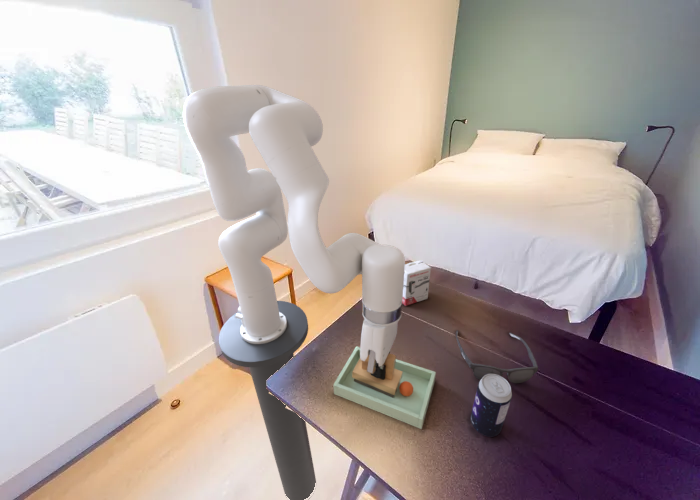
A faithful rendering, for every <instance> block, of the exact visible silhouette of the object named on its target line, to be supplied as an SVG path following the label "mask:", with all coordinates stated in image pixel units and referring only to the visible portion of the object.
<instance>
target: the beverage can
mask: <svg viewBox="0 0 700 500" xmlns="http://www.w3.org/2000/svg"><path fill="white" fill-rule="evenodd" d="M508 381H509V380H507V379H506V378H505V377H503V376H499V375H496V374H487V375H485V376H484V377H483V378H482V379H481V380H479V381H478V384H477V388H476V393H475V397H474V400H473V405H472V409H471V413H470V424H471V426H472V427H473V428H474V429H475V430H476V432H478V433H479V434H480V435H482V436H485V437H489V438H493V437H496V436H498V435H500V434H501V432H502V428H503V426H504V423H505V420H506V416H507V414H508V411H509V408H510V404H511V401H512V398H513V391H512V387H511V384H510V383H509V382H508Z"/></svg>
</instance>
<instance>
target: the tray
mask: <svg viewBox="0 0 700 500" xmlns="http://www.w3.org/2000/svg"><path fill="white" fill-rule="evenodd" d="M359 359H360V346H357V345H356V346H355V348H353V351H352V352H351V354H350V356H349V358H348V359H347V361H346V363H345V364H344V366H343V368H342V370H341V371H340V373H339V375H338V376H337V377H336V379H335V381H334V383H333V395H336V396H338V397H341V398H343V399H345V400H347V401H350V402H353V403H355V404H358V405H360V406H363V407H365V408H367V409H370V410H373V411H375V412H377V413H380V414H383V415H385V416H388V417H390V418H393V419H394V420H398V421H400V422H402V423H405V424H408V425H410V426H412V427H415V428H417V429H420V430H422V429H423V426H424V423H425V419H426V414H427V411H428V407H429V403H430V401H431V396H432V393H433V389H434V386H435V382H436V376H437V375H436V374H437V372H436V371H434V370H431V369H429V368H425V367H422V366H418V365H416V364H412V363H409V362H406V361H404V360H400V359H397V358H396V362H395V369H397V370H400V371H402V372H403V373H402V378H401V381H400V383H399V386H398V388H397V391H396V393H395V395H394V397H393V398H392V397H390V396H387V395H385V394H383V393H380V392H378V391H376V390H373V389H371V388H368V387H366V386H364V385H361V384H359V383H357V382H354V378H352V371H353V370H354V368H355V366H356V364H357V363H358V361H359ZM404 381H407V382H410V383H411V384H412V386H413V393H412V394H411V395H410V396H403V395H402V394H401V393H400V390H399V387H400V384H401V383H402V382H404Z"/></svg>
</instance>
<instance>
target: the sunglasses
mask: <svg viewBox="0 0 700 500" xmlns="http://www.w3.org/2000/svg"><path fill="white" fill-rule="evenodd" d="M458 334H459V330H456V332H455V339H456V342H457V346H458V349H459V351H460V352H459V353H460V355H461V357H462V358H463V359H464V361H465V362H466V364H467V366H468V367H469V369H471V372H472V373H473V376H474V378H475V379H477V380H479V381H480V380H481V379H482V378H483V377H484V376H485V375H487V374H496V375H499V376H501V377H503V375H504V373H506V376H507V379H508V381H509V382H510V383H512V384H522V383H526V382H527V381H529V380H530V379H532V378H533V376H534V375H535V374H536V373H537V372H538V370H539V366H538V363H537V361H536V358H535V356H534V353H533V352H532V351H533V350H532V349H531V347H530V346H529V344H528V343H527V341H526V340H524V339H523V338H522V337H520V336H519V335H517V334H514V333H513V332H508V334H509V335H510V336H511V338H514V339H517V340H519V341H520V342H521V343H523V345H524V347H525V348H526V351H527V353H528V357H529V360H530V361H531V363H532V366H527V367H526V366H525V367H524V366H523V367H515V368H500V367H496V366H493V365H487V364H481V363H475V362H474V363H473V362H472V360H471V359H470V358H469V356H468V355H467V353H466V352H465V351H464V348H463V347H462V344H461V343H460V340H459V338H458V337H459V336H458Z"/></svg>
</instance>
